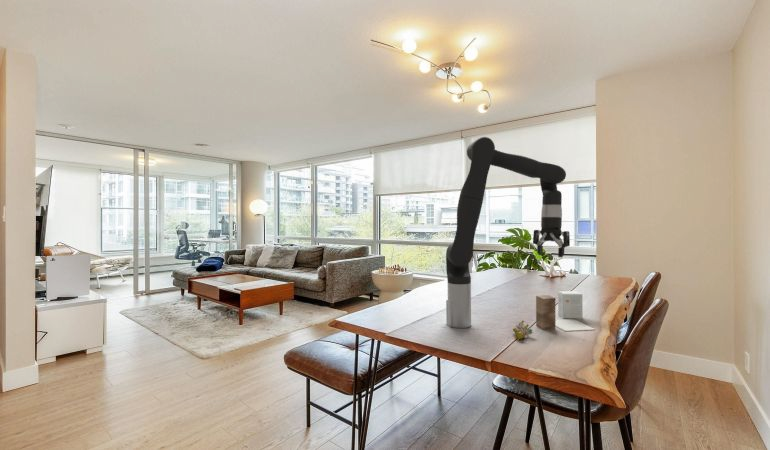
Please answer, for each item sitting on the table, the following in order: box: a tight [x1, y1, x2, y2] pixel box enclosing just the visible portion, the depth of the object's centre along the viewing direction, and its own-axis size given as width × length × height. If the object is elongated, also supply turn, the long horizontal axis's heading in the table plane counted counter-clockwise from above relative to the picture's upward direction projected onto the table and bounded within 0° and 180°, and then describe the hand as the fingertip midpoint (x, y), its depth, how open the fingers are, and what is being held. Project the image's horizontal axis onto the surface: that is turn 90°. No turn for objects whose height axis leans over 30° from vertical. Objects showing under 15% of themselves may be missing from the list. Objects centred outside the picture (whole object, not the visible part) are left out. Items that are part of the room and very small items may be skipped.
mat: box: [555, 318, 596, 332], centre depth 140 cm, size 12×13×1 cm
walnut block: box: [535, 294, 556, 331], centre depth 138 cm, size 5×5×12 cm
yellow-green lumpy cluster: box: [512, 320, 534, 341], centre depth 130 cm, size 5×5×15 cm
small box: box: [557, 290, 584, 319], centre depth 151 cm, size 8×6×10 cm
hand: (550, 256), depth 144 cm, fingers open, 8 cm apart
